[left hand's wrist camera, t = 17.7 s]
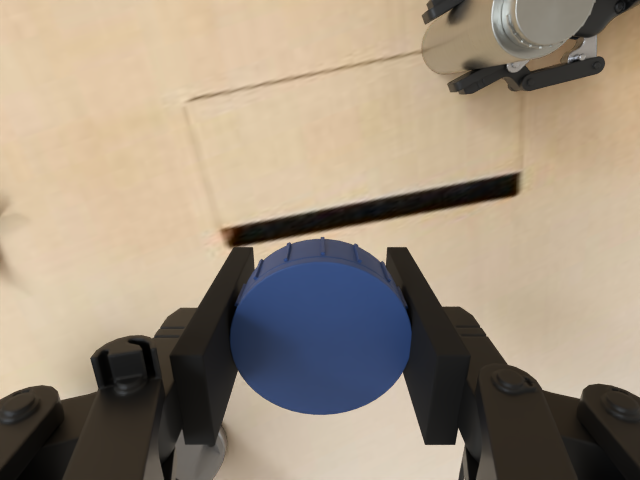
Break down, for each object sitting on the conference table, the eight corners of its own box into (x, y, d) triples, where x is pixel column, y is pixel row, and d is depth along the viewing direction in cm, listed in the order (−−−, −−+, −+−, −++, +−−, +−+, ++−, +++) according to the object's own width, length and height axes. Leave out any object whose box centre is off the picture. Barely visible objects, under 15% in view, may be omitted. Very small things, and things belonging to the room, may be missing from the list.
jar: (421, 77, 34) (500, 62, 19) (421, 18, 32) (508, -53, 17) (473, 70, 34) (598, 50, 18) (476, 11, 32) (616, -68, 17)
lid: (434, 294, 12) (452, 325, 10) (338, 399, 14) (341, 441, 12) (298, 204, 11) (294, 222, 9) (211, 329, 12) (194, 364, 11)
